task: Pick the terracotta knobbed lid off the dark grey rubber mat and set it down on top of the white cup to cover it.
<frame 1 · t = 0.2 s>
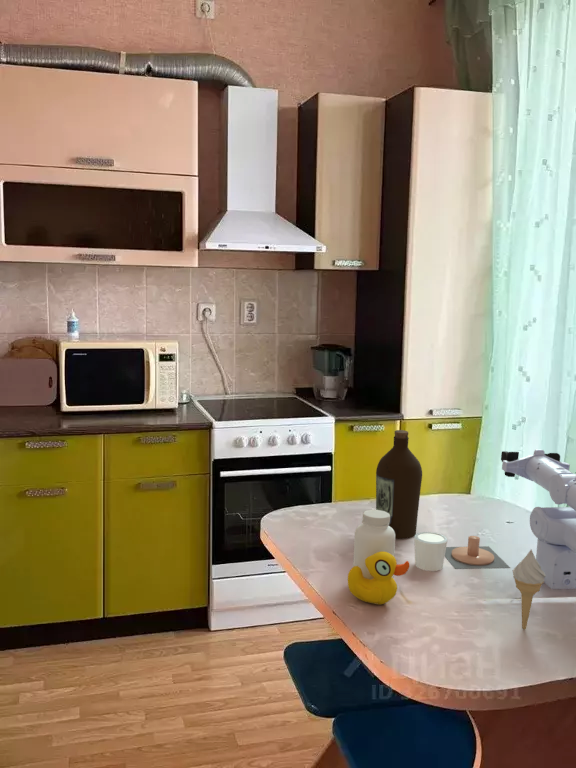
hand: (518, 456, 170), 21 cm above the table, tool horizontal, fingers open, 7 cm apart
duckling: (375, 603, 142), on the table
white cup: (428, 569, 158), on the table
mat: (472, 560, 164), on the table
olive oil: (395, 535, 178), on the table
ice cream cone: (524, 630, 133), on the table
pill bottle: (372, 587, 149), on the table
lid: (472, 557, 163), point 1 cm above the table, touching mat
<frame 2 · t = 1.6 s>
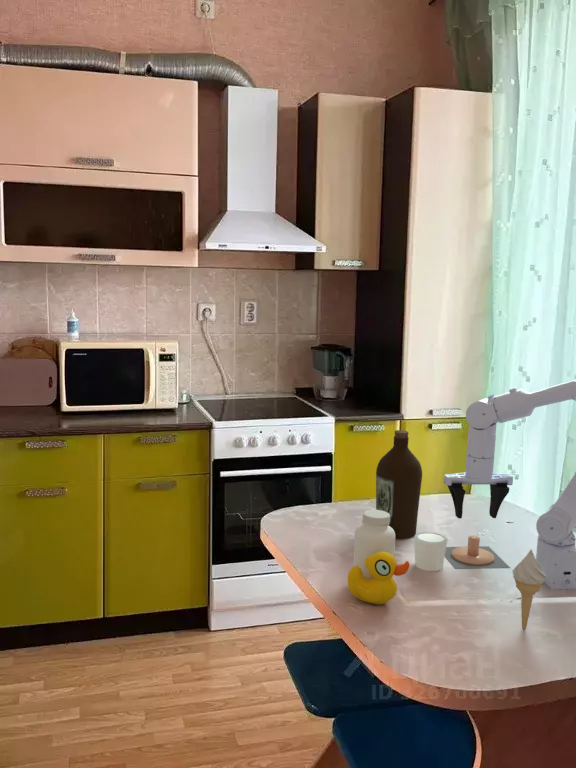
hand: (475, 516, 162), 10 cm above the table, tool pointing down, fingers open, 7 cm apart
nothing on the table moved.
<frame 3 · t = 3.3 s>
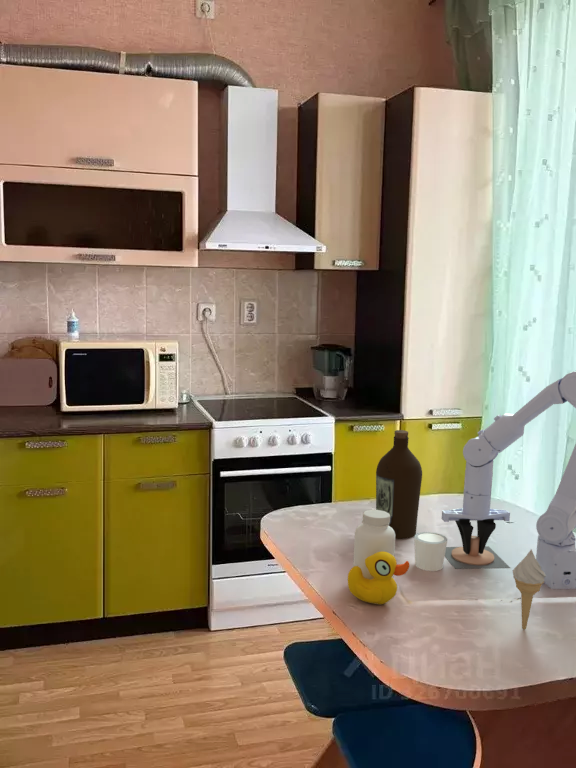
hand: (473, 552, 163), 2 cm above the table, tool pointing down, fingers closed on lid, 2 cm apart
lid: (472, 557, 163), point 1 cm above the table, touching gripper, mat
everything else where it was.
when the fingers open (9 cm above the table, at t = 5.6 s): lid stays where it is, resting on white cup.
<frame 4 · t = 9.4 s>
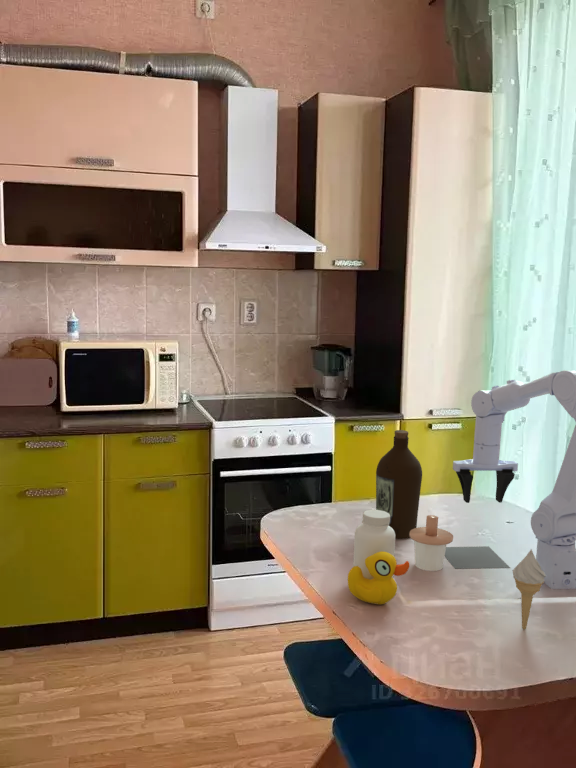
hand: (482, 501, 171), 10 cm above the table, tool pointing down, fingers open, 7 cm apart
white cup: (428, 569, 158), on the table, touching lid
lid: (431, 537, 157), point 7 cm above the table, touching white cup
everything else where it was.
at the end: lid 0.1 cm off-centre on the white cup, point 7.2 cm above the white cup's base; lid tilted 0°; white cup moved 0.2 cm from its start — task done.
